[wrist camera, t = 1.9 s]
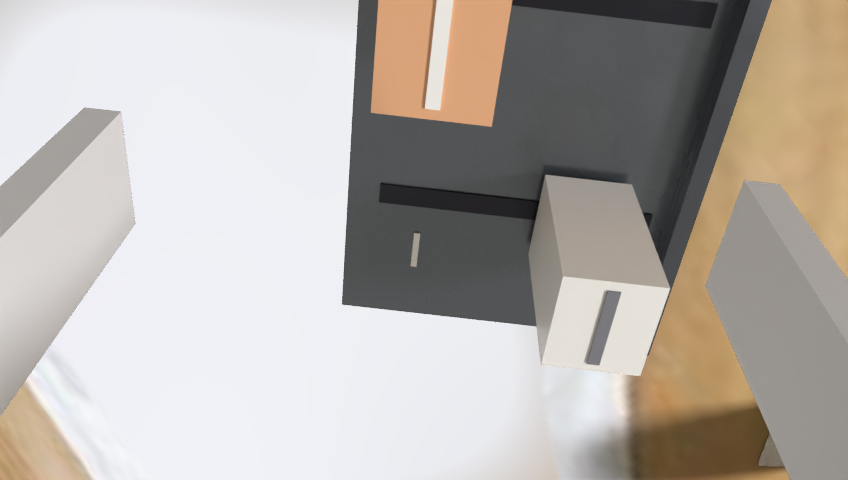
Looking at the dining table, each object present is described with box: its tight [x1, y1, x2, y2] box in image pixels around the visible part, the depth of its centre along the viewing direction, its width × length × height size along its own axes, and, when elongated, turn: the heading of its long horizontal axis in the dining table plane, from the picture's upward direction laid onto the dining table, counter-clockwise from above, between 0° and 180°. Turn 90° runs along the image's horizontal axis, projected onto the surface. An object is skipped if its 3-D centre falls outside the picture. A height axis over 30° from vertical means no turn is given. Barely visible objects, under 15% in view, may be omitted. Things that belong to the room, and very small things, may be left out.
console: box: [342, 0, 772, 356], centre depth 34 cm, size 24×16×2 cm, turn 174°
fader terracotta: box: [371, 0, 512, 127], centre depth 27 cm, size 4×4×8 cm
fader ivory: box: [528, 175, 670, 376], centre depth 33 cm, size 4×4×8 cm
